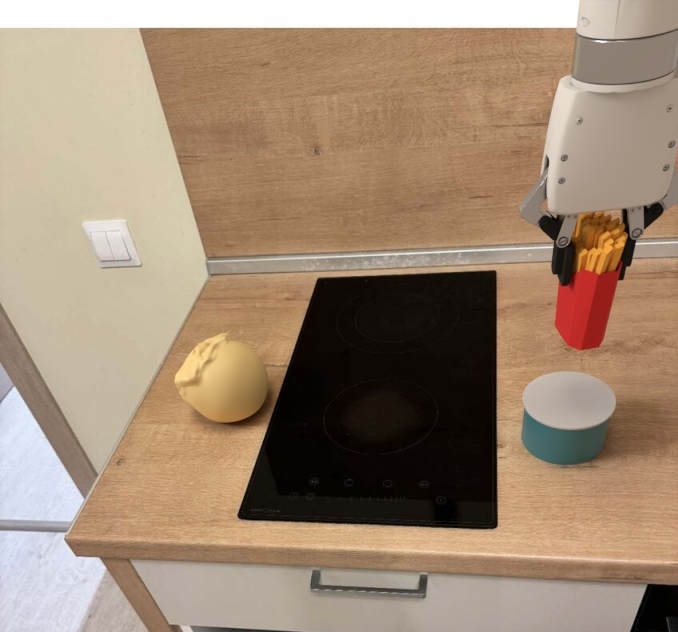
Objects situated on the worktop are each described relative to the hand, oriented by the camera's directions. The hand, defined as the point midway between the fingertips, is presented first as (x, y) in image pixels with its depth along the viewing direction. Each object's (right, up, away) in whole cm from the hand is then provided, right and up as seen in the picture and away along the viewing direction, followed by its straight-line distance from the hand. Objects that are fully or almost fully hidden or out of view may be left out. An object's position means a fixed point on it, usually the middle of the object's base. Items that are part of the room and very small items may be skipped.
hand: (588, 274), depth 60 cm
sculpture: (-40, -9, +31) cm, 51 cm away
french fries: (+1, -5, +5) cm, 7 cm away
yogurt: (+3, -16, +16) cm, 23 cm away
